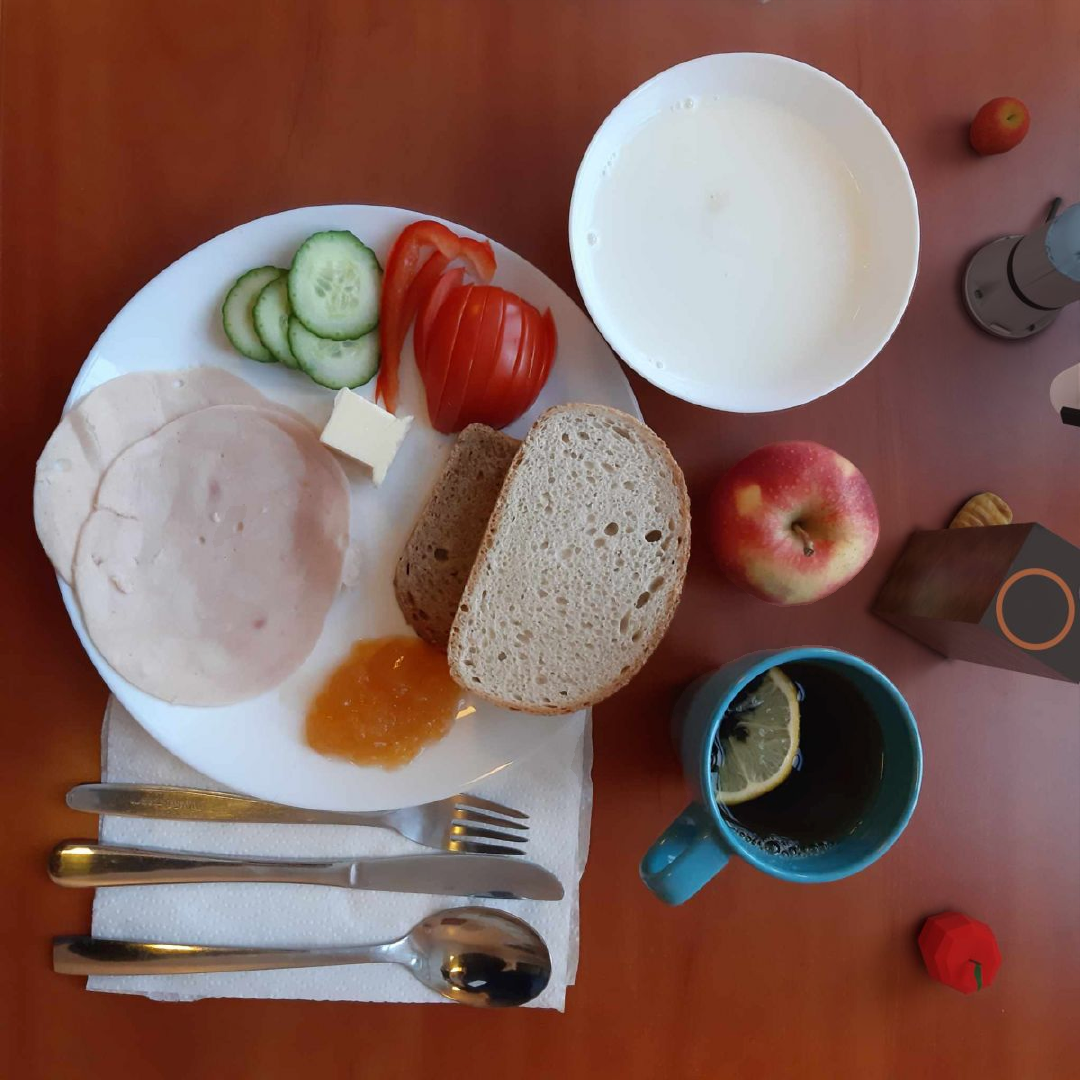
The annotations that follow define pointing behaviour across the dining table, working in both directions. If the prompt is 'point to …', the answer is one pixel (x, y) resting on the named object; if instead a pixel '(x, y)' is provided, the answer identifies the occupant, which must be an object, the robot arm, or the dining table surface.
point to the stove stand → (958, 594)
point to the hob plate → (1041, 602)
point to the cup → (1066, 389)
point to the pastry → (983, 512)
